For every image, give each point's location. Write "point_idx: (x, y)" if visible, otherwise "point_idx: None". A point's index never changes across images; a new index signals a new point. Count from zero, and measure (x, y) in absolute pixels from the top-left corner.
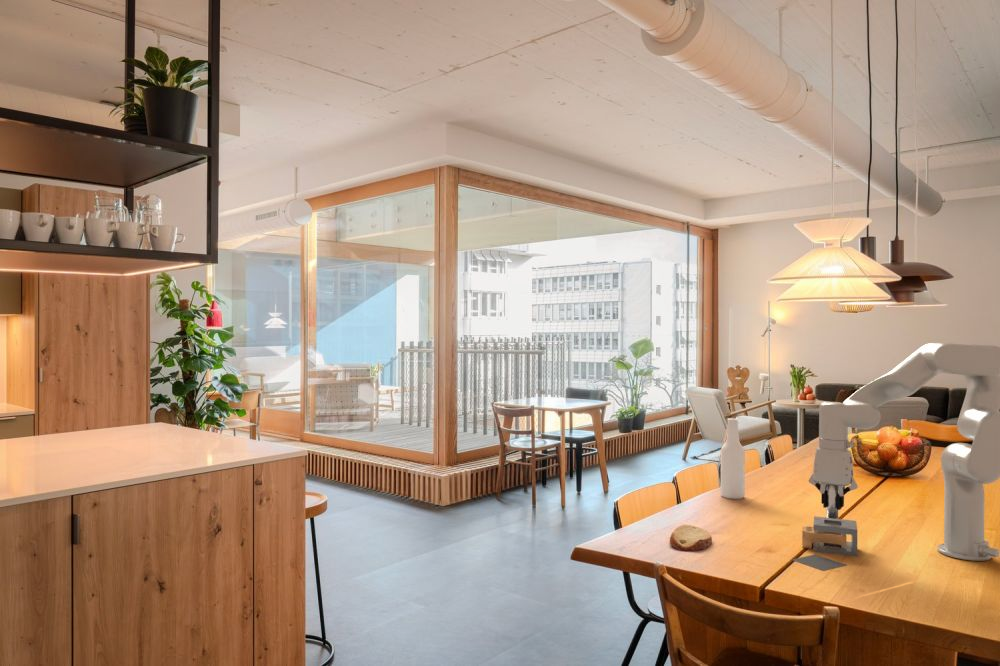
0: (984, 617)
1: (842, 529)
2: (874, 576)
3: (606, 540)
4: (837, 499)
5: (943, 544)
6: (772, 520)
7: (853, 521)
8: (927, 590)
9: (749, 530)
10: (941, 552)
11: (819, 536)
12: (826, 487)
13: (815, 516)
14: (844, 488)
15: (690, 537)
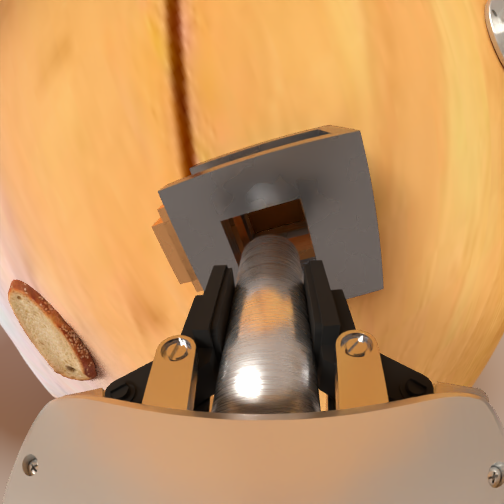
0: (484, 362)
1: None
2: (392, 332)
3: (36, 373)
4: None
5: (492, 9)
6: (33, 52)
7: (351, 153)
8: (459, 332)
9: (37, 191)
10: (501, 60)
11: None
12: (193, 385)
13: (163, 190)
14: (377, 390)
15: (59, 352)
